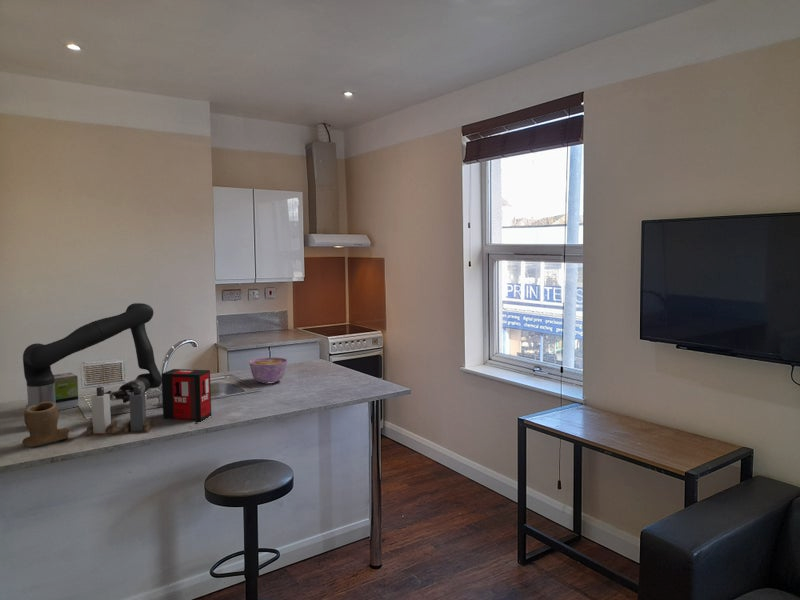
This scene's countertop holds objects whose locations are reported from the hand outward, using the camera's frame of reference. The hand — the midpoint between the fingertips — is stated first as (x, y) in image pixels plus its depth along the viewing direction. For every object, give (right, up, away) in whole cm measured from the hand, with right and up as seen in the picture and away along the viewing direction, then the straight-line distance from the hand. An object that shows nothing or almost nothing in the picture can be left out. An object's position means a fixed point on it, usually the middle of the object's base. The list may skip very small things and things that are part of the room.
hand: (113, 400), depth 214 cm
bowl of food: (+44, -4, +74) cm, 86 cm away
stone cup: (-15, -13, -17) cm, 26 cm away
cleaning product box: (+25, -10, +11) cm, 29 cm away
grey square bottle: (+13, -10, -5) cm, 17 cm away
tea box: (-39, -9, +26) cm, 48 cm away
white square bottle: (0, -10, -8) cm, 13 cm away
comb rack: (+7, -11, -7) cm, 15 cm away
